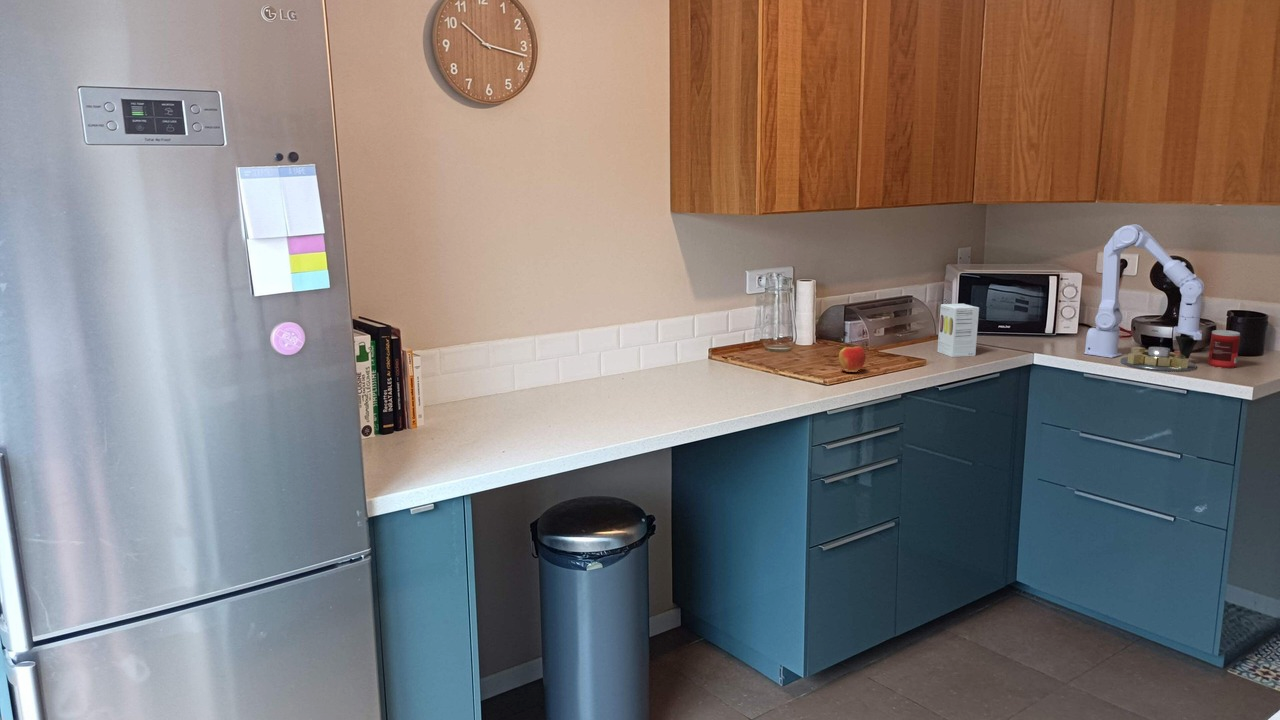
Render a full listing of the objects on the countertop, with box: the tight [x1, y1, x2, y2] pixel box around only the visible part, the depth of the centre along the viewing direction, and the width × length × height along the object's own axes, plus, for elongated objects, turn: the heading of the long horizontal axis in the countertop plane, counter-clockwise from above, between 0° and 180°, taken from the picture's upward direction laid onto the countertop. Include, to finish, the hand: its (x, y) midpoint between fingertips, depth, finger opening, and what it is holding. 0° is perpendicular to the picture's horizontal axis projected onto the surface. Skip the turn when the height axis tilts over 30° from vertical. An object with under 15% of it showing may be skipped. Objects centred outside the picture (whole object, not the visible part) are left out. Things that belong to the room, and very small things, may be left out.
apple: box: [838, 340, 866, 370], centre depth 282 cm, size 8×8×10 cm
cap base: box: [1120, 346, 1197, 373], centre depth 293 cm, size 21×23×5 cm
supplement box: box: [937, 303, 980, 358], centre depth 310 cm, size 10×9×17 cm
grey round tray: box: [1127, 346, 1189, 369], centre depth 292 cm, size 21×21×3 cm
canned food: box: [1207, 329, 1241, 369], centre depth 289 cm, size 8×8×11 cm
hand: (1184, 358), depth 293 cm, fingers closed, pressing on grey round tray
